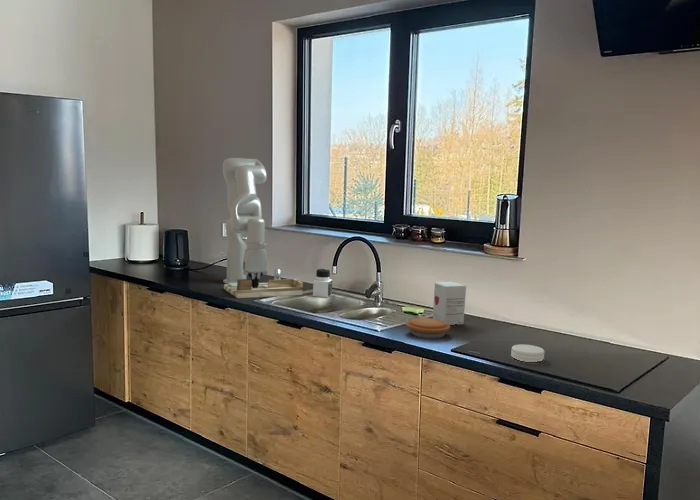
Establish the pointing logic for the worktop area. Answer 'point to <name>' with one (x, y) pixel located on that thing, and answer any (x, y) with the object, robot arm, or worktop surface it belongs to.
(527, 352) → the white round container
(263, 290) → the board
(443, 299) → the supplement box
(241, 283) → the walnut cube
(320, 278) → the medicine bottle
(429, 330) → the pie
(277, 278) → the grey metal peg
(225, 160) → the robot arm
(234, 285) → the pad
